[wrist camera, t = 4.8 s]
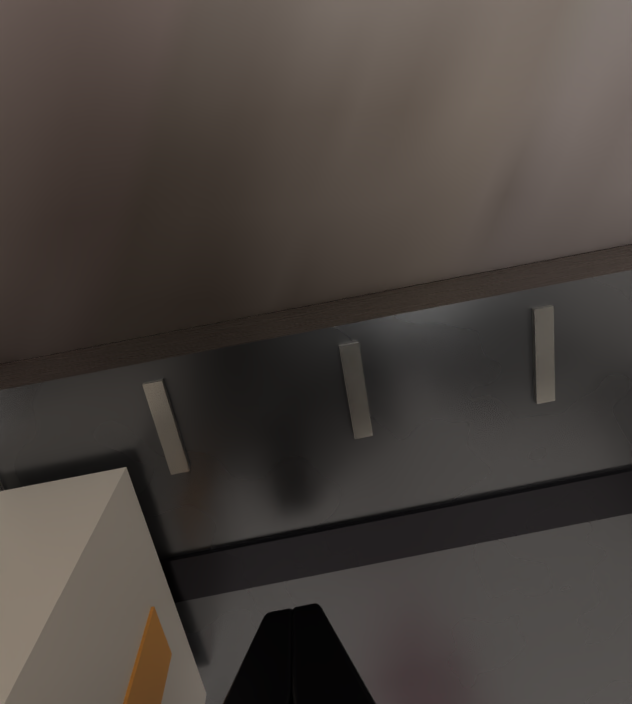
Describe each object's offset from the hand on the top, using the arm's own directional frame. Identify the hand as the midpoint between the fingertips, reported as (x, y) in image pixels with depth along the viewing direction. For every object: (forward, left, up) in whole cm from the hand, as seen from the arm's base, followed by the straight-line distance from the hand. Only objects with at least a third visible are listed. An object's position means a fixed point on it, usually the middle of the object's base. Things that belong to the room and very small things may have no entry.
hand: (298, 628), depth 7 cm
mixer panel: (0, +6, -3) cm, 6 cm away
